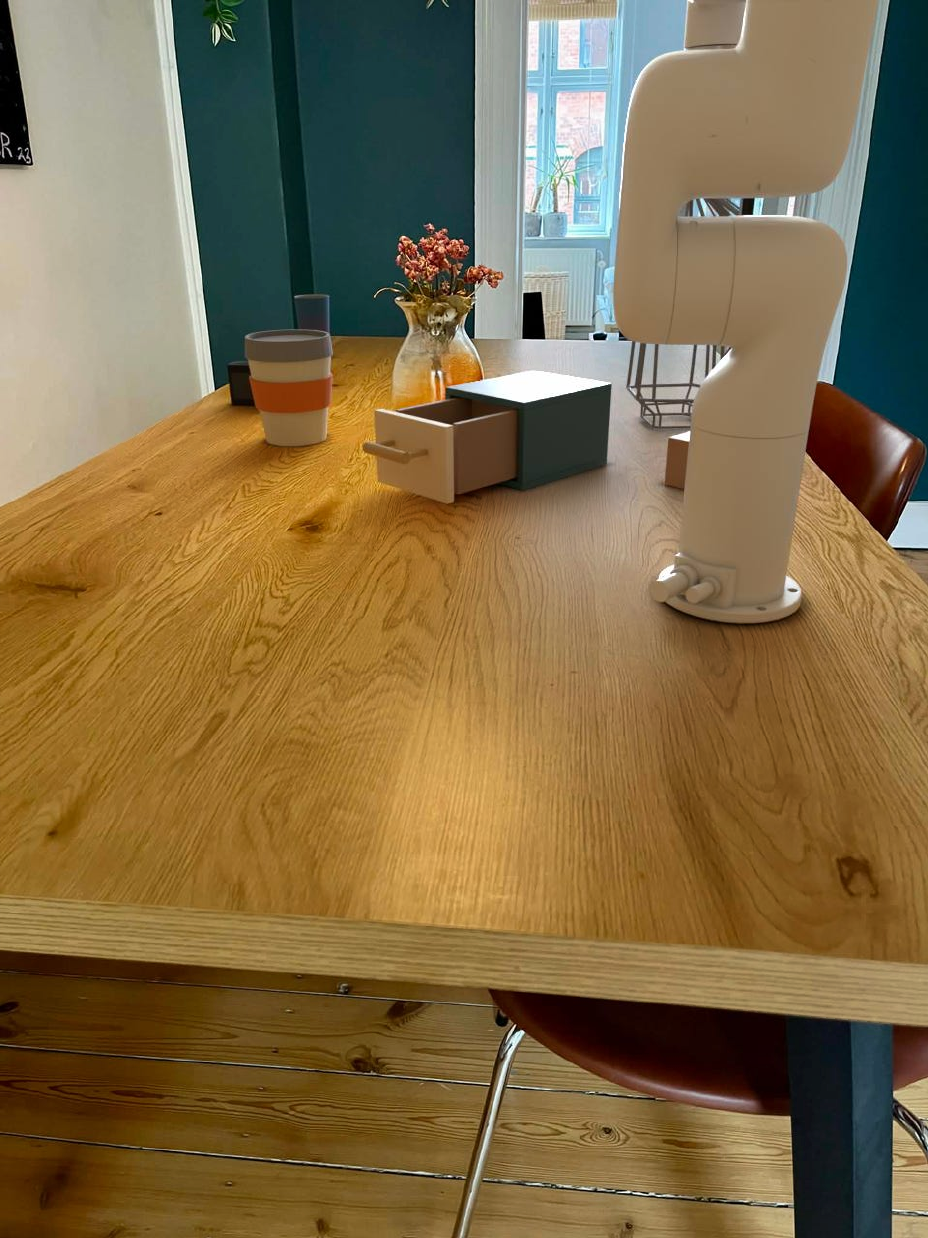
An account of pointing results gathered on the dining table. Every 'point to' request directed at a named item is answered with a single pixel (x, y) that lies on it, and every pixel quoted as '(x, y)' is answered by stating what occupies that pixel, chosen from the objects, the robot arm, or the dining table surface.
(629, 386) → the geometric lantern
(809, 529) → the dining table surface
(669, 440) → the snack box
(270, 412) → the reusable coffee cup
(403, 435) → the drawer
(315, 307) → the cup
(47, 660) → the dining table surface
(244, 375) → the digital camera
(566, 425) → the cabinet
